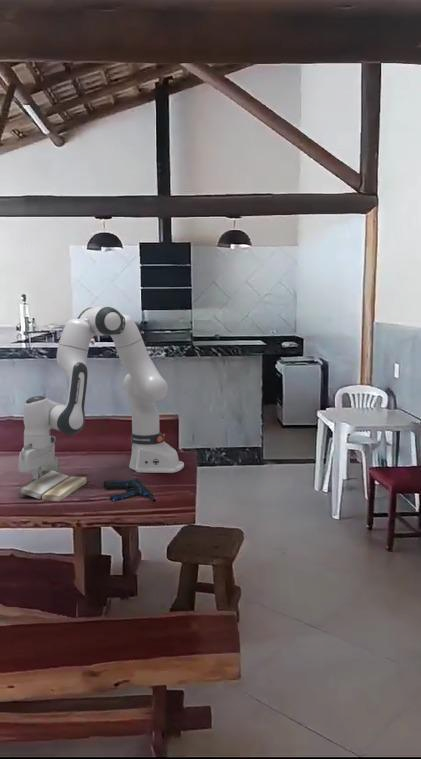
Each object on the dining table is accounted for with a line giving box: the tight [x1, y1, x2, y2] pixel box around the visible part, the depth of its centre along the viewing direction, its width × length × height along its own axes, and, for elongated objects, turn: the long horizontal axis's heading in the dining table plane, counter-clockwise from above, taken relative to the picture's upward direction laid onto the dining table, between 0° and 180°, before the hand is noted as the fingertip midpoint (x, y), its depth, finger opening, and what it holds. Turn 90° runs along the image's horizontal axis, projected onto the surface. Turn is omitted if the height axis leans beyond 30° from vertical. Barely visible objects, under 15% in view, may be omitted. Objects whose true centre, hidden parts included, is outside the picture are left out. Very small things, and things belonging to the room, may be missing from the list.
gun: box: [103, 478, 157, 502], centre depth 230 cm, size 24×3×15 cm
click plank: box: [19, 470, 69, 500], centre depth 235 cm, size 8×22×2 cm, turn 167°
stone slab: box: [41, 456, 60, 474], centre depth 266 cm, size 22×3×10 cm
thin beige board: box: [41, 475, 87, 502], centre depth 233 cm, size 7×22×2 cm, turn 167°
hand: (37, 478), depth 235 cm, fingers closed, pressing on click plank
